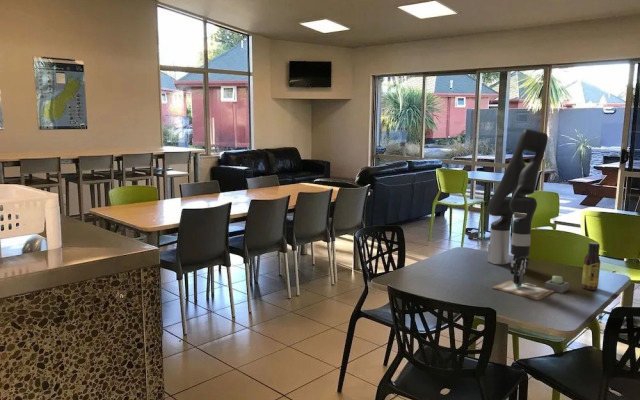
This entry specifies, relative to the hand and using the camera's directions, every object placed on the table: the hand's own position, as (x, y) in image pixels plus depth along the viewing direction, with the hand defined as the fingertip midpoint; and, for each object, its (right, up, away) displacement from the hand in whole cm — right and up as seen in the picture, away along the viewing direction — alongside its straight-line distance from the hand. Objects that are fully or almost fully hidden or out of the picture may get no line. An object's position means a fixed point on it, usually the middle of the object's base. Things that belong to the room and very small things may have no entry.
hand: (518, 282), depth 221 cm
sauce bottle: (+31, -3, 0) cm, 31 cm away
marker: (0, -1, 0) cm, 1 cm away
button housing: (+16, -3, -1) cm, 16 cm away
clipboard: (+1, -3, -3) cm, 4 cm away
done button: (+16, -1, -1) cm, 16 cm away
